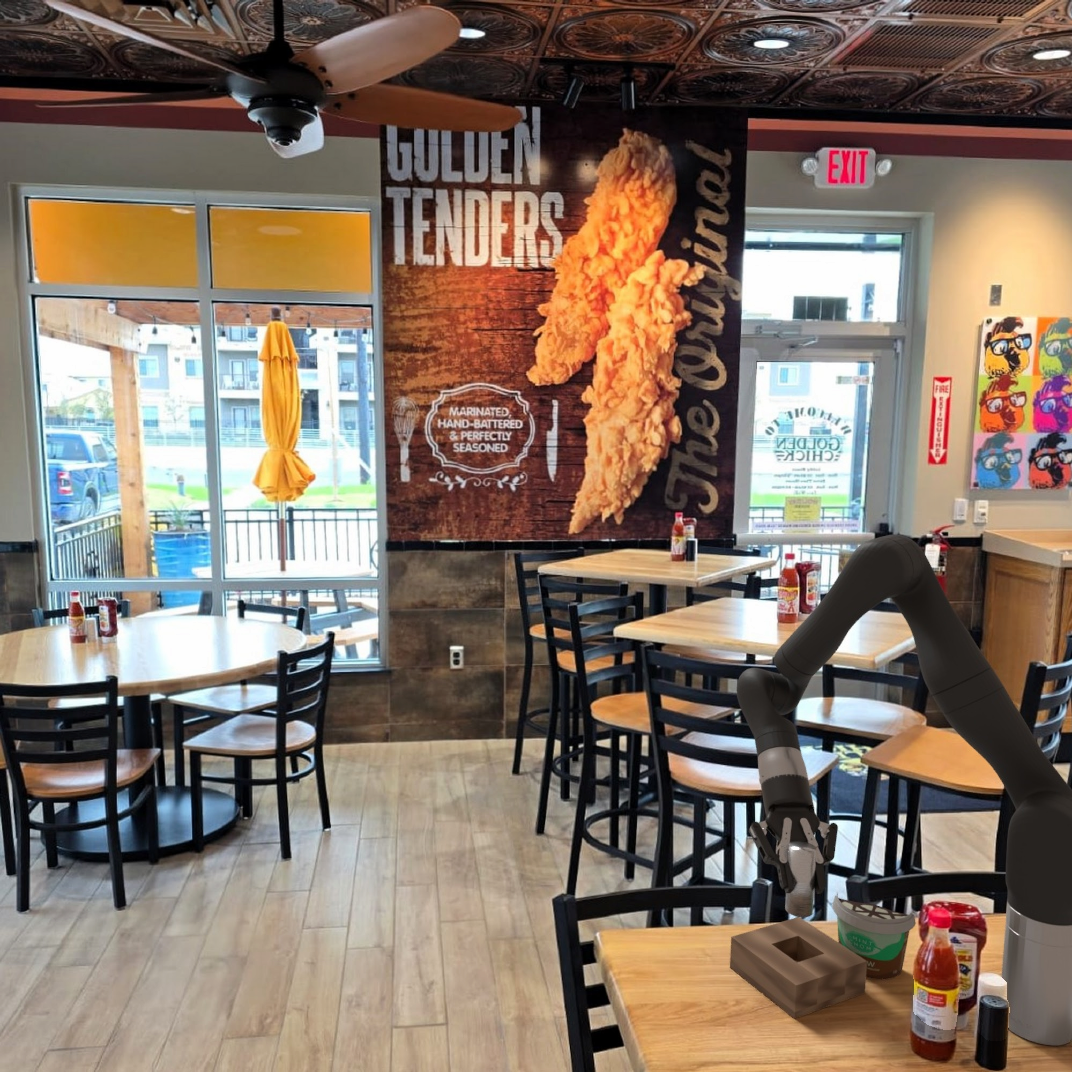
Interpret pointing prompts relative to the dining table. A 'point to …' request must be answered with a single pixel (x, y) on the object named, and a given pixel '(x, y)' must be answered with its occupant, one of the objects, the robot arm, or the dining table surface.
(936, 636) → the robot arm
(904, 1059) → the dining table surface
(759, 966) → the socket block
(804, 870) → the steel pin
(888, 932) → the food container
